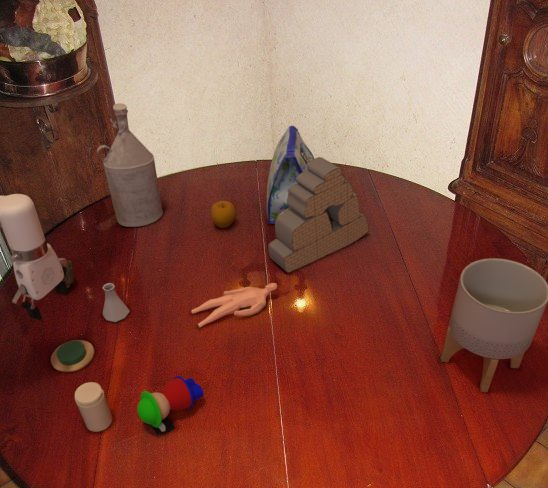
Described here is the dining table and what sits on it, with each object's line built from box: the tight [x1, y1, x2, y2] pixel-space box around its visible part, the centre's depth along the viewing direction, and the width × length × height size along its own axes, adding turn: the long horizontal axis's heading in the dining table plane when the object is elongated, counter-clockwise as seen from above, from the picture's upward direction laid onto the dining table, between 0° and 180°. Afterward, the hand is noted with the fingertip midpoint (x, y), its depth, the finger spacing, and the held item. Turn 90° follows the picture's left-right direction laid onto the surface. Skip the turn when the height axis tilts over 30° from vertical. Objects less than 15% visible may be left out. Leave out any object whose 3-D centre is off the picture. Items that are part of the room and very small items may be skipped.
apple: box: [210, 200, 237, 229], centre depth 187 cm, size 9×8×9 cm
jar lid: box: [56, 340, 87, 365], centre depth 145 cm, size 7×7×2 cm
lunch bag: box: [266, 125, 315, 225], centre depth 188 cm, size 22×17×26 cm
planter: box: [440, 257, 548, 393], centre depth 132 cm, size 19×19×26 cm
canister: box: [96, 102, 164, 228], centre depth 182 cm, size 13×17×40 cm
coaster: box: [50, 339, 95, 373], centre depth 146 cm, size 11×11×1 cm
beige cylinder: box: [74, 381, 114, 433], centre depth 127 cm, size 6×6×10 cm
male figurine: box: [191, 282, 278, 329], centre depth 157 cm, size 11×5×25 cm
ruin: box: [267, 156, 370, 273], centre depth 169 cm, size 34×10×30 cm, turn 125°
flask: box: [102, 282, 131, 323], centre depth 155 cm, size 7×7×10 cm
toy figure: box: [136, 375, 204, 437], centre depth 129 cm, size 9×10×15 cm
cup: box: [65, 259, 75, 291], centre depth 165 cm, size 8×7×8 cm
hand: (49, 305), depth 135 cm, fingers open, 9 cm apart
